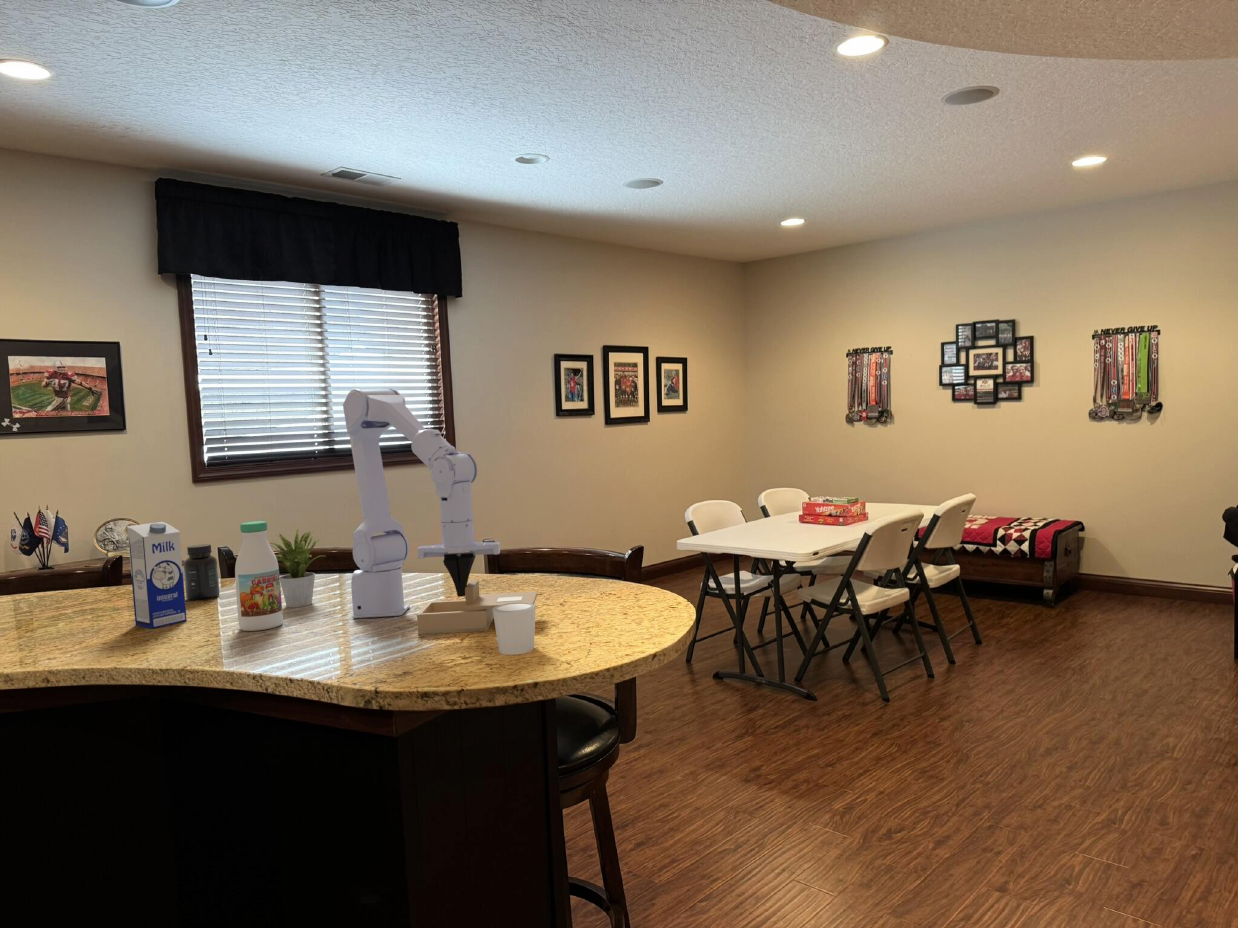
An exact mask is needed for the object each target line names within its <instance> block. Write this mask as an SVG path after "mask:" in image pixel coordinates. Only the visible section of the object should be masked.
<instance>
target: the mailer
mask: <svg viewBox="0 0 1238 928" xmlns="http://www.w3.org/2000/svg"><path fill="white" fill-rule="evenodd" d="M465 606H466V599H460V600H459V599H458V600H457V599H456V600H440V601H428V602H427V603H426V604H425V605H424V606H423V607H422V609H420V611H419V612H417V614H416V622H417V624H416V625H417V635H418V636H421V635H438V634H439V635H440V634H441V635H442V634H456V633H457V634H458V633H460V634H461V633H474V632H475V633H478V632H487V631H488V629H489V628H490V625H491V624H492V622H493V619H494V615H493V609H479V610H465Z"/></svg>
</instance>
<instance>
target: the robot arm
mask: <svg viewBox="0 0 1238 928" xmlns="http://www.w3.org/2000/svg"><path fill="white" fill-rule="evenodd" d="M342 408H343V409H342V410H343V414H344V419H345V420H344V421H345V426H346V431H347V433H348V435H349V441H350V447H351V453H352V459H353V460H352V461H353V465H354V471H355V477H356V483H357V490H358V496H359V503H360V508H361V509H360V510H361V514H362V519H363V522H361V523H360V524H359V526H358V527H357V528H356V529H355V530H354V532H353V533H352V538H353V546H352V559H353V560H354V562H355V564H356V566H357V567H358V568H359V569H356V570H354V571H353V573H352V576H351V580H350V581H351V587H350V589H351V601H352V614H353V615H352V616H351V617H352V618H353V619H363V618H365V619H366V618H379V617H380V618H383V617H397V616H402V615H404V613H405V612H406V611H407V610H408V609H409V608H410V606H411V604H405V600H404V584H403V568H402V567H403V566H406V565H405V562H406V561H407V560H408V558H409V554H410V551H411V550H410V547H411V546H410V542H409V540H408V538H407V536H406V534H405V529H404V525H403V523H401V522H399V521H398V520H396V519H395V518H393V517H392V513H391V507H390V500H389V496H388V488H387V484H386V478H385V472H384V466H383V465H384V464H383V458H382V453H381V448H380V442H379V441H380V438H381V436H382V434H383V433H385V432H387V431H388V430H389V429H390V428H391V427H393V428H394V429H396V431H398V432H399V433H400V434H401V435H403V437H405V438H406V439H407V440H409V442H411V448H410V449H411V451H412V453H413V454H414V455H416V457H418V459H419V460H420V461H422V462H423V464H424V465H426V467H428V469H429V470H430V477H431V480H432V482H433V484H434V485H435V489H436V490H435V491H436V493H435V494H437V497H438V498H439V507H440V508H439V509H440V522H441V523H440V525H441V541H442V544H435V545H422V546H418V547H417V558H418V559H425V558H442V557H443V564H444V567H445V568H446V570H447V572H448V573H449V575H450V577H451V580H452V581H453V584H454V588H455V591H456V597H459V598H460V597H462V598H463V597H465V587H466V586H467V585H468V584H469V582H468V581H469V577H470V574H471V571H472V567H473V564H474V562H475V560H476V556H477V555H499V554H500V553H501V542H500V541H498V542H497V541H495V542H494V541H492V542H491V541H490V542H487V541H486V542H481V541H479V542H475V541H476V540H475V527H474V509H473V508H474V507H473V493H472V483H474V481H475V480H476V478H477V476H478V465H477V462H476V460H475V458H474V457H473V456H472V454H470V452H469V453H468V452H461V451H460V450H459V451H457V450H456V447H455V446H453V445H451V443H450V442H448V441H447V439H445V438H444V437H443V436H442V432H441V431H440V430H439V429H433V428H427V429H426V428H425V426H424V425H422V424H421V422H420V421H419V420H418V418H416V417H415V415H414V414H413V413H412V412H411V411H410V410H409V409H408V407H407V405H406V398H405V397H404V396H403V395H401V393H400V392H399V391H398V390H397V389H394V388H388V389H358V388H353V389H351V390H350V391H349V392H348V393H347V395H346V398H345V399H344V401H343V403H342ZM379 533H384V534H379ZM374 534H379V535H374Z"/></svg>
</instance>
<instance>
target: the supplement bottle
mask: <svg viewBox="0 0 1238 928" xmlns="http://www.w3.org/2000/svg"><path fill="white" fill-rule="evenodd" d="M212 552H213V551H212V545H211V544H208V543H205V544H195V545H194V544H193V545H189V546H187V554H186V555H187V556H188V558H187V559H185V560H184V562H183V578H184V590H185V599H186V600H187V601H189V602H199V601H200V602H201V601H208V600H212V599H217V598H218V597H219V596H220V582H219V581H220V580H219V569H218V567H219V565H218V559H217V558H216V557H215V556H213V555H212V554H211V553H212Z"/></svg>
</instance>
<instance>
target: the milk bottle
mask: <svg viewBox="0 0 1238 928" xmlns="http://www.w3.org/2000/svg"><path fill="white" fill-rule="evenodd" d="M239 527H240V532H241V533H240V535H241V536H242V542H241V546H240V549H239V551H238V555H237V558H236V561H235V566H234V580H235V591H236V592H235V594H236V607H237V616H238V617H237V619H238V628H239V629H240V630H241V631H242V632H243V631H245V632H257V631H265V630H269V629H273V628H277V627H280V626H281V625H282V624H283V620H284V618H283V615H284V613H283V602H282V587H281V582H280V577H281V576H280V570H279V569H280V568H279V567H280V566H279V564H278V563H279V562H278V560H277V558H276V556H275V555H276V554H275V552H274V551H273V549H272V548H271V547H272V546H270V545H271V544H270V542H269V541H268V538H267V533H268V524H267V521H266V520H265V521H263V520H261V521H260V520H258V521H257V520H256V521H249V522H243V523H241V524H240V526H239ZM268 542H269V543H268Z"/></svg>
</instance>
